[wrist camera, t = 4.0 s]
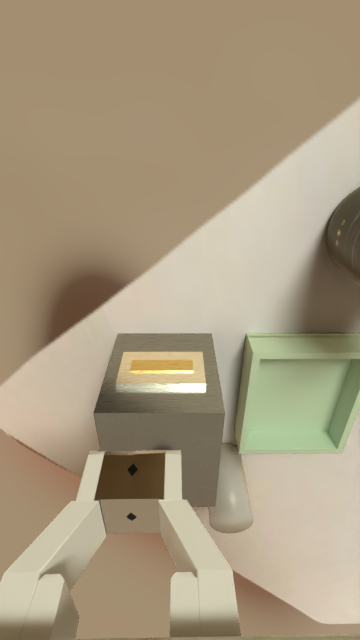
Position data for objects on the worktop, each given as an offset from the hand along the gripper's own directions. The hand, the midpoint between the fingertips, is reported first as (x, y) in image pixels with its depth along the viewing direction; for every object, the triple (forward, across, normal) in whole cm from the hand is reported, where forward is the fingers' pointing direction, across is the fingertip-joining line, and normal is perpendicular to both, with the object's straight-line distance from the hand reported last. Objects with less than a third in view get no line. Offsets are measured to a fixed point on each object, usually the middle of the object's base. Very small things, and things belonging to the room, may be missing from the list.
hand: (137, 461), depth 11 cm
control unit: (+16, 0, +10) cm, 19 cm away
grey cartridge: (+16, -6, +21) cm, 27 cm away
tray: (+16, -12, +11) cm, 23 cm away
